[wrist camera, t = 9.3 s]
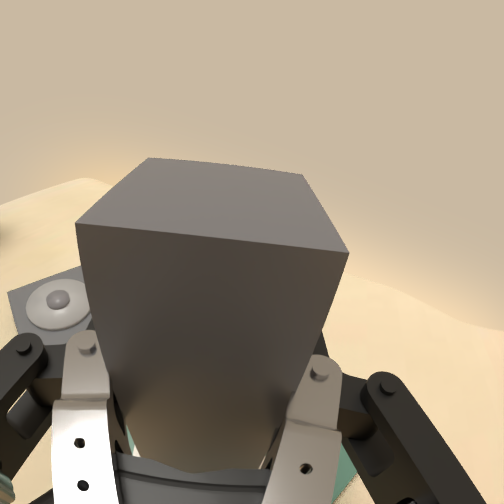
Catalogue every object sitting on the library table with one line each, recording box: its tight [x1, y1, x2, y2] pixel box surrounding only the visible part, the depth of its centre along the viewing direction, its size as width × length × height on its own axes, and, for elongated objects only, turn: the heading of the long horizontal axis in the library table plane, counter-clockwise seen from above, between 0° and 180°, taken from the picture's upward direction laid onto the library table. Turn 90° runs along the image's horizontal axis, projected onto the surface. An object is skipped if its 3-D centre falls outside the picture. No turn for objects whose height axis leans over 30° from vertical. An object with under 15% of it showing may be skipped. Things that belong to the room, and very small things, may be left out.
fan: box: [7, 266, 92, 345], centre depth 25 cm, size 10×10×4 cm
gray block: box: [75, 158, 349, 474], centre depth 10 cm, size 4×5×12 cm
